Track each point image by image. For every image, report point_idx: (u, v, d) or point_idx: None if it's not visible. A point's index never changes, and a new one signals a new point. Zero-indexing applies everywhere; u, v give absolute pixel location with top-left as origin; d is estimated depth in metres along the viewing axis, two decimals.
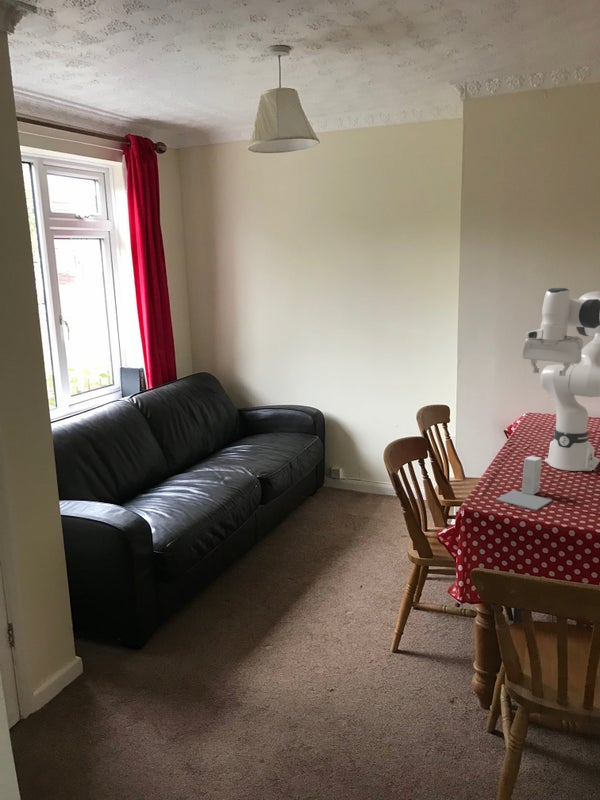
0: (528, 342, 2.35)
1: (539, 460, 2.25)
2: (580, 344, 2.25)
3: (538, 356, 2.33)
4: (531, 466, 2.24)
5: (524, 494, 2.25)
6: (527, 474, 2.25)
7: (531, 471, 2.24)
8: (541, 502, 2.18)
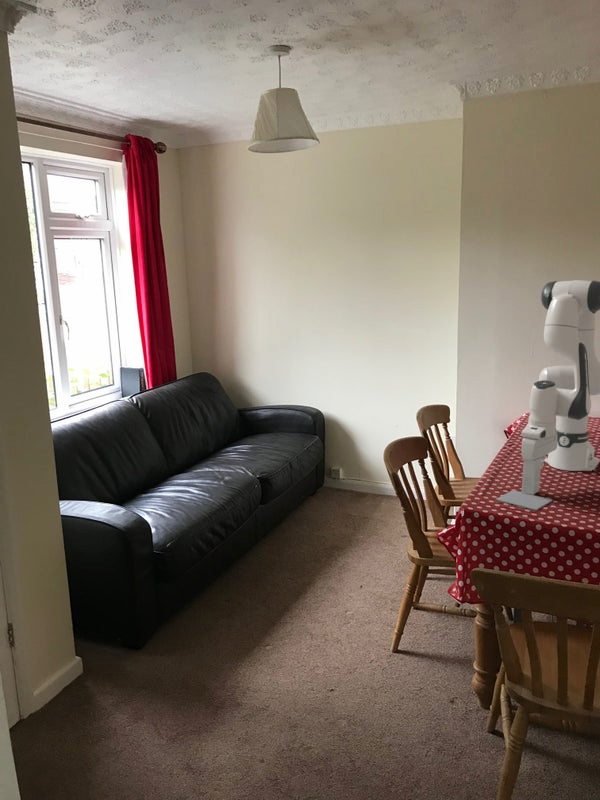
0: (537, 443, 2.22)
1: (539, 460, 2.25)
2: None
3: (540, 453, 2.26)
4: (531, 466, 2.23)
5: (524, 494, 2.25)
6: (527, 474, 2.25)
7: (530, 472, 2.24)
8: (541, 502, 2.18)
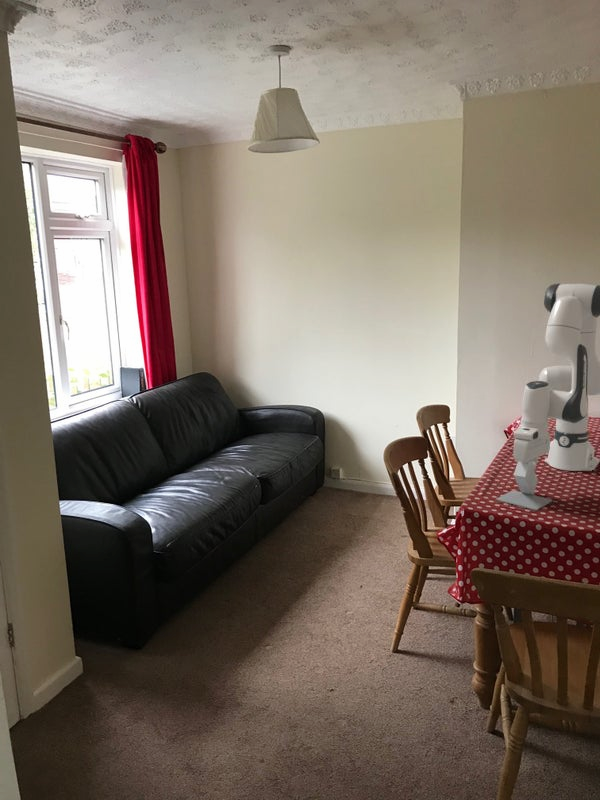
0: (529, 444, 2.17)
1: (528, 469, 2.18)
2: None
3: (532, 455, 2.20)
4: (522, 480, 2.19)
5: (524, 494, 2.25)
6: (521, 483, 2.21)
7: (524, 482, 2.20)
8: (541, 502, 2.18)
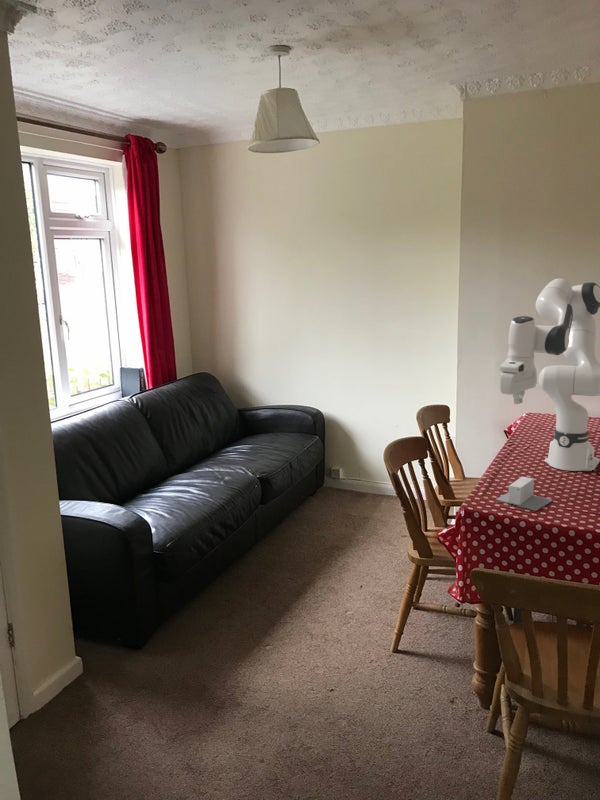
0: (515, 376, 2.23)
1: (521, 494, 2.15)
2: None
3: (519, 388, 2.27)
4: None
5: None
6: None
7: None
8: (541, 502, 2.18)
